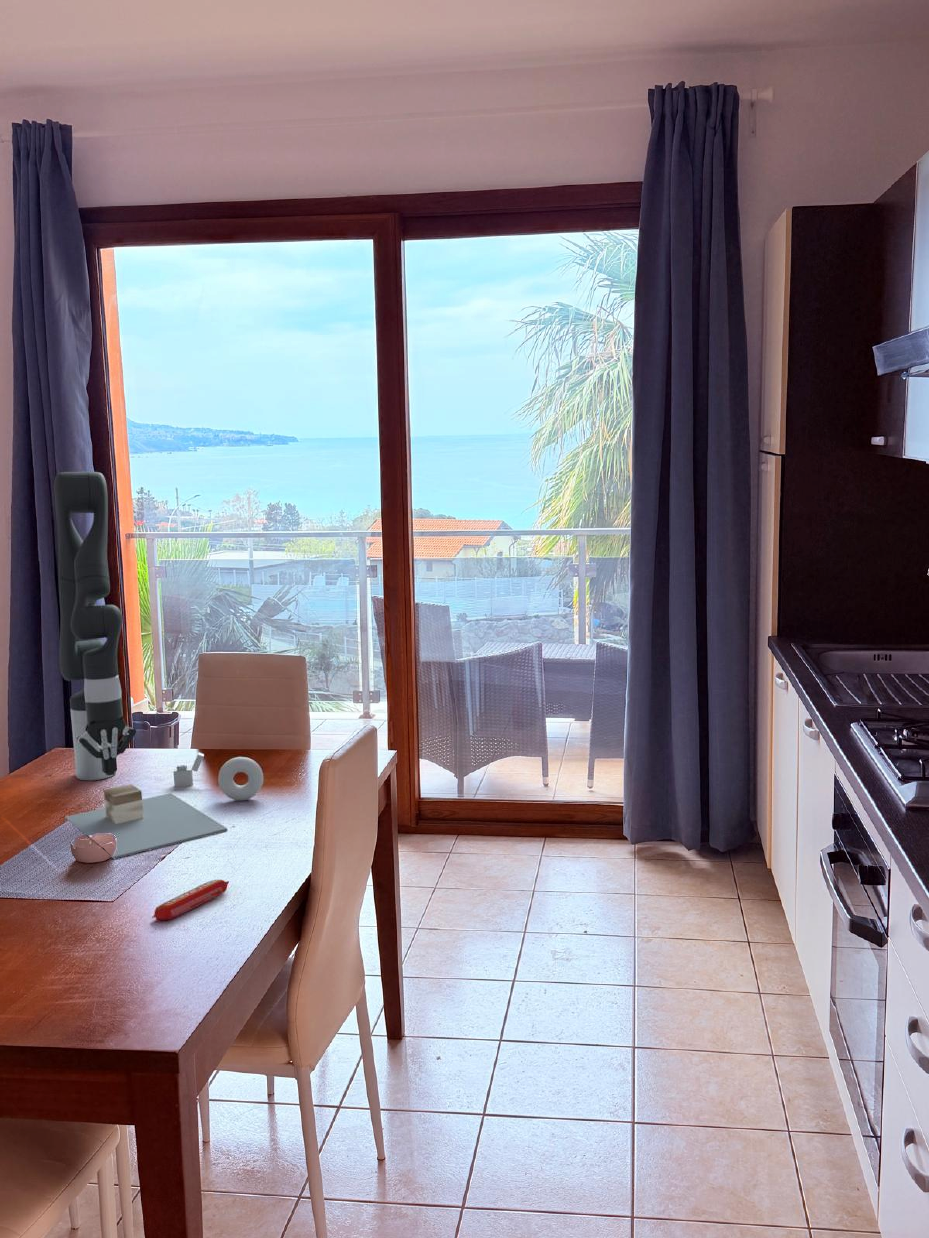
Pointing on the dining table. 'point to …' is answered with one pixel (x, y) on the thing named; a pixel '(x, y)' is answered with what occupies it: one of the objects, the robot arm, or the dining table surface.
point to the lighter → (186, 773)
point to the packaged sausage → (190, 899)
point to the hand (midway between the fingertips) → (109, 774)
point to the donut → (236, 790)
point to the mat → (150, 825)
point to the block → (123, 803)
